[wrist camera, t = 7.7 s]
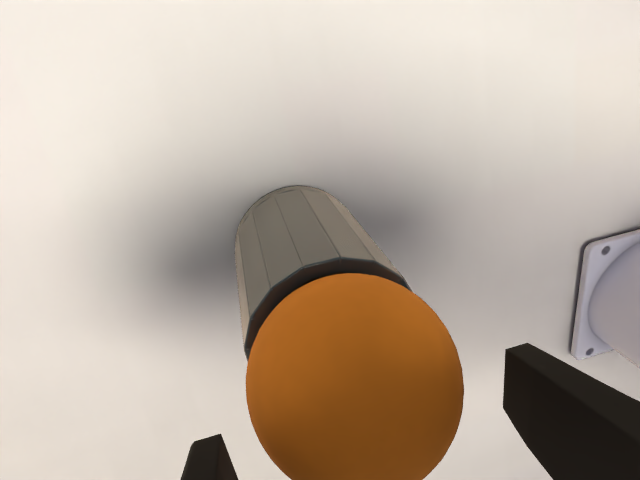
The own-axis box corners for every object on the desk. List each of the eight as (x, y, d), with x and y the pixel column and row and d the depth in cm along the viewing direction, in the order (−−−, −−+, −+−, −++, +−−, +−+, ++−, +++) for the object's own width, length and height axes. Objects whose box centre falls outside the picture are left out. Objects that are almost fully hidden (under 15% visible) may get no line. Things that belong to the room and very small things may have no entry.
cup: (345, 172, 18) (413, 238, 12) (360, 279, 21) (423, 379, 14) (220, 201, 18) (224, 287, 11) (250, 308, 20) (267, 426, 14)
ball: (400, 219, 13) (521, 331, 8) (412, 358, 15) (508, 507, 10) (217, 266, 12) (224, 423, 7) (261, 404, 15) (288, 589, 10)
